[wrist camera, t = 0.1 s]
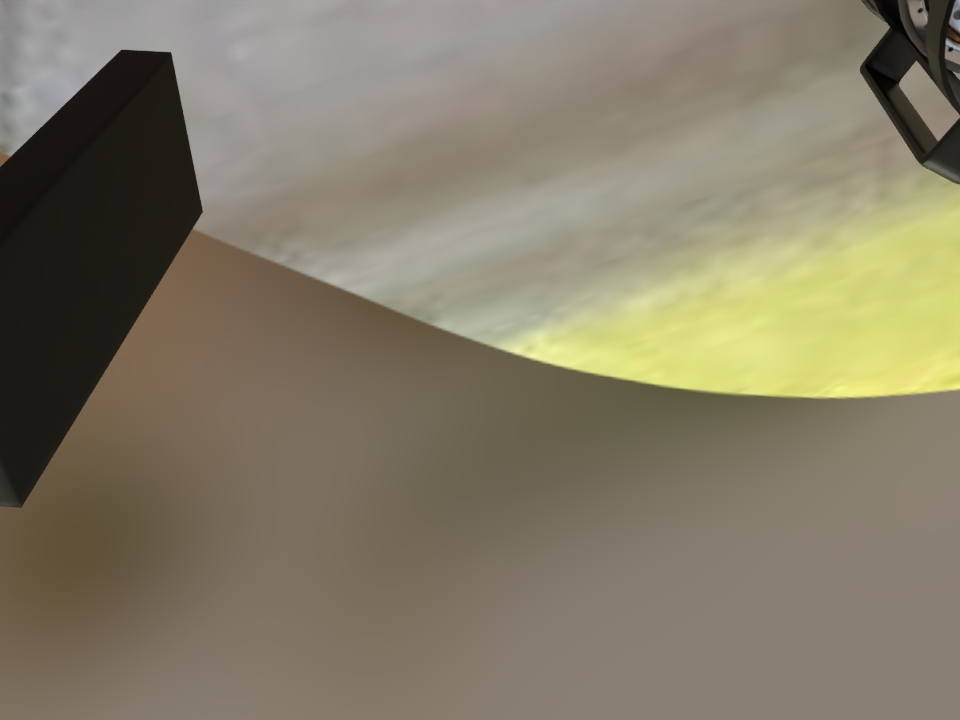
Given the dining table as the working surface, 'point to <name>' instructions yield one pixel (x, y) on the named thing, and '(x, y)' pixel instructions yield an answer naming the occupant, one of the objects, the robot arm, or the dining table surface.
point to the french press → (939, 50)
